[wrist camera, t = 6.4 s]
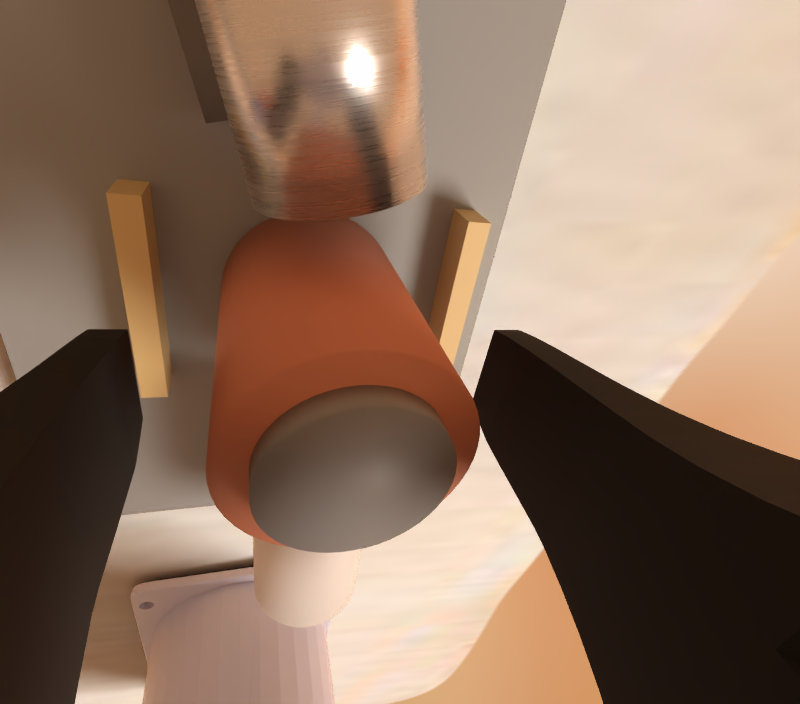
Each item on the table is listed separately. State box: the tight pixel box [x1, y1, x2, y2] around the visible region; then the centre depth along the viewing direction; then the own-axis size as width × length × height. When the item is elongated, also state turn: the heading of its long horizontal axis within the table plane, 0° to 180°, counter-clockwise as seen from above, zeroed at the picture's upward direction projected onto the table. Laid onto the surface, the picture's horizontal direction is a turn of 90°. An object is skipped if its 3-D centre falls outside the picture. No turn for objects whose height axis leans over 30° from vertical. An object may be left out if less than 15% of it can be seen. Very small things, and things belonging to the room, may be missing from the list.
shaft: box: [168, 0, 428, 221], centre depth 7 cm, size 4×4×4 cm
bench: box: [0, 0, 566, 628], centre depth 11 cm, size 16×12×6 cm
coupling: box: [206, 218, 480, 553], centre depth 10 cm, size 4×4×6 cm
